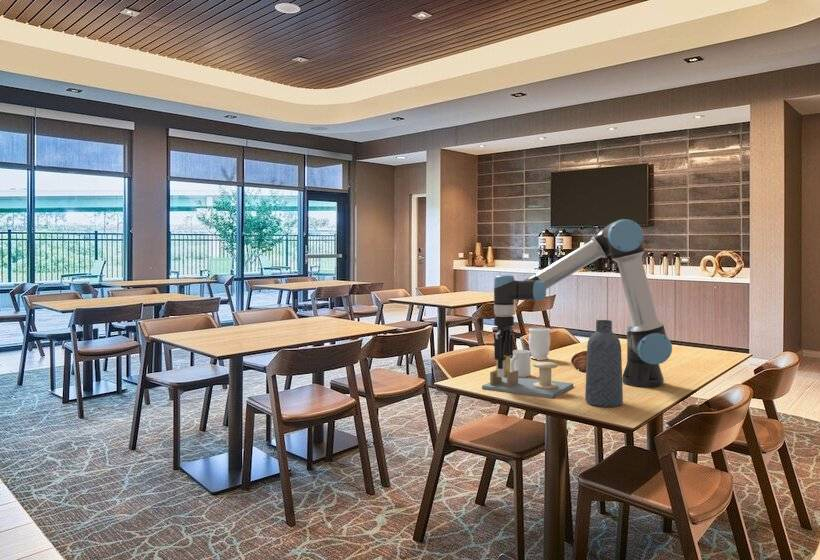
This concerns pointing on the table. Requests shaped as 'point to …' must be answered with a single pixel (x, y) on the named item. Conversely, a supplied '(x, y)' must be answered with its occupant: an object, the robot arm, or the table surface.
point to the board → (529, 382)
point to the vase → (604, 367)
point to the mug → (521, 362)
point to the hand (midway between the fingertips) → (503, 375)
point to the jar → (539, 342)
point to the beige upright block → (507, 365)
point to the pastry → (580, 361)
